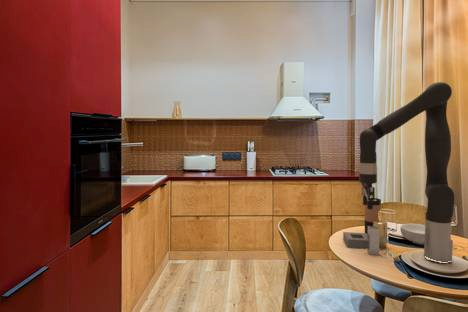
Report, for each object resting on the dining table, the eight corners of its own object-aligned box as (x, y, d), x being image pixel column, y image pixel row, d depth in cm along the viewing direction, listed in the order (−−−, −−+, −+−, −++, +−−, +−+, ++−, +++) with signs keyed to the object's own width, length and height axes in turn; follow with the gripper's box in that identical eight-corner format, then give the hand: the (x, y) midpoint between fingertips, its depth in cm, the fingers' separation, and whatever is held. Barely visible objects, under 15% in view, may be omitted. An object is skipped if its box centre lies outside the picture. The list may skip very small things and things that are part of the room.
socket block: (365, 240, 153) (365, 233, 152) (371, 248, 142) (372, 240, 142) (343, 239, 155) (343, 232, 154) (347, 247, 144) (347, 239, 143)
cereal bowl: (420, 249, 140) (420, 235, 140) (392, 238, 156) (392, 224, 156) (448, 246, 145) (448, 231, 144) (418, 235, 161) (419, 222, 160)
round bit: (384, 244, 147) (385, 220, 146) (388, 249, 141) (389, 224, 140) (371, 244, 148) (372, 220, 147) (374, 248, 142) (375, 223, 141)
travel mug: (361, 234, 162) (362, 198, 161) (373, 233, 164) (374, 197, 162) (370, 239, 155) (371, 201, 153) (383, 238, 156) (384, 200, 155)
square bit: (376, 251, 138) (376, 226, 137) (378, 255, 134) (379, 229, 133) (367, 251, 139) (367, 226, 138) (369, 254, 135) (370, 228, 134)
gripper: (381, 174, 132) (380, 210, 133) (372, 170, 145) (372, 203, 147) (362, 174, 133) (362, 210, 134) (356, 170, 147) (356, 203, 148)
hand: (367, 206), depth 140 cm, fingers open, 8 cm apart
